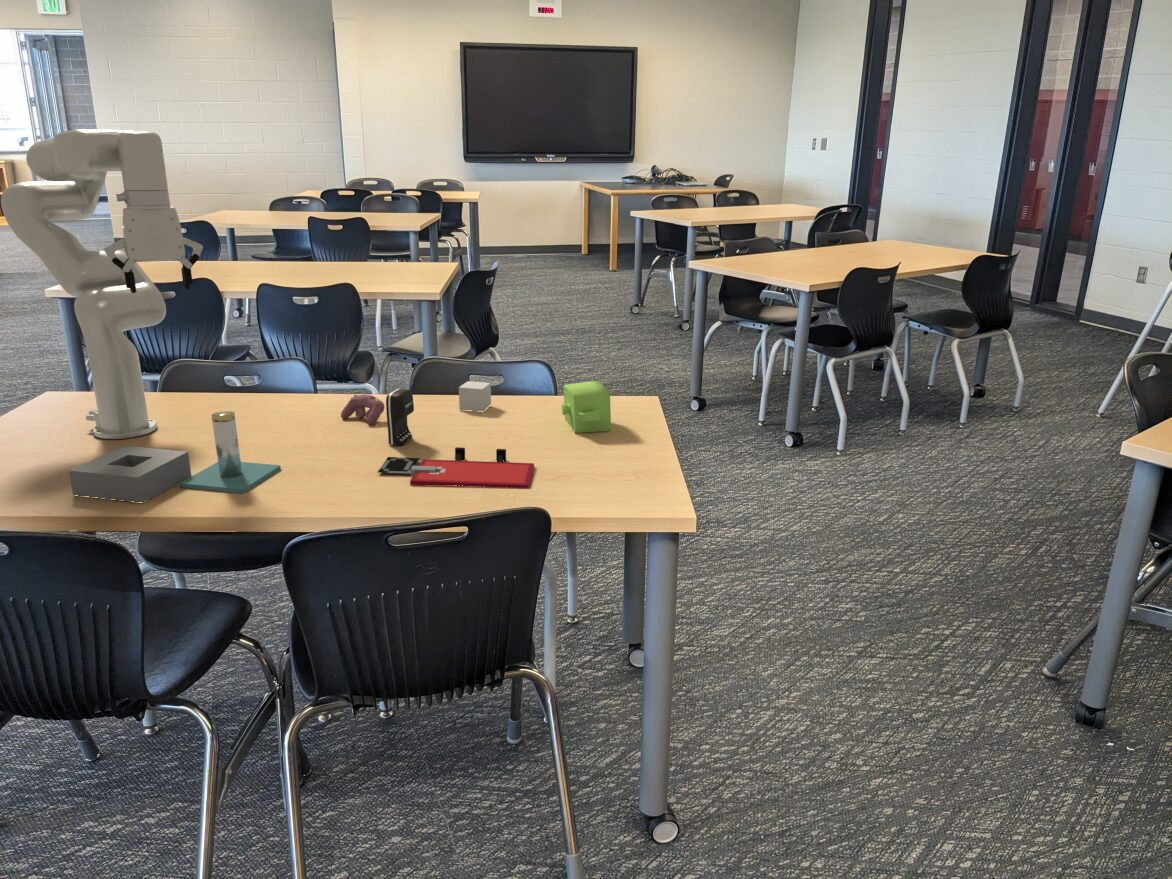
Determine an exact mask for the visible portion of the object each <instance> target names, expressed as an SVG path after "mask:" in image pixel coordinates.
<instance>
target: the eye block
mask: <svg viewBox="0 0 1172 879" xmlns="http://www.w3.org/2000/svg"><path fill="white" fill-rule="evenodd" d="M189 455H190V454H189V451H183V450H174V449H173V450H172V449H164V448H162V449H161V448H152V447H142V446H141V447H139V446H129V445H123V446H121V447H118V448H116V449H114V450H112V451H109V452H107V453H105V454H102V455H100V456H98V457H96V458H93V459H91V460H89V461H87V462H85V463H83V464H80V465H78V466H76V467H74V468H71V469H70V470H68V473H69V479H70V485H71V490H72V493H73V496H74V495H78V496H89V497H98V498H105V499H115V500H123V501H134V502H144V501H146V500H148V499H150V498H151V499H153V498H155V497H157V496H158V494H159V493H160V494H162V493H163V491H164V492H166V491H167V490H170V488H172V486H173V487H174V485H175V486H176V485H178V484H180V483H181V482H182V481H183V480H186V479H188V478H190V477H191V476H192V469H191V464H190V456H189ZM165 490H166V491H165ZM161 492H162V493H161ZM160 494H159V495H160ZM156 495H157V496H156ZM154 496H155V497H154ZM152 497H153V498H152ZM151 499H150V500H151ZM148 501H149V500H148ZM146 502H147V501H146ZM144 503H145V502H144Z"/></svg>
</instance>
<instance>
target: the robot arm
mask: <svg viewBox="0 0 1172 879" xmlns="http://www.w3.org/2000/svg"><path fill="white" fill-rule="evenodd" d="M162 142H163V141H162V139H161V137H160V135H159V134H158V133H157V132H153V131H147V130H146V131H141V130H136V131H135V130H129V129H128V130H127V129H123V130H122V129H96V128H95V129H94V128H93V129H87V128H85V129H84V128H82V129H73V130H67V131H66V130H65V131H61V132H58V133H56V134H55V136H54V137H52V138H51V137H50V138H45V139H43V140H39V141H36V142H35V143H33V144H32V145H31V146H30V147H29V149H28V151H27V152H26V158H25V159H26V164H27V166H28V168H29V169H30V171H31V172H32V173H33V174H34V175H35V176H37V177H38V178H40V179H43V180H35V181H33V180H32V181H31V180H30V181H22V182H17V183H14V184H11V185H9V186H7V187H5V189H4V190H3V191H2V193H1V197H0V206H1V209H2V212H3V215H4V218H5V220H6V223H7V224H8V226H9V227H10V229H11V231H13V232H12V233H14V234H15V236H16V237H17V238H18V239H19V240H20V241H21V242H22V243H23V244H24V245H25V246H26V247H27V248H28V249H30V250H31V251H32V252H33V253H34V254H35V255H36V256H37V257H38V258H39V259H40V260H41V261H42V263H43V264H44V266H45V267H46V269H47V270H48V271H49V273H50V274H51V275H52V276H53V278H54V279H55V280H56V282H57V283H58V284H59V285H60V287H61V288H62V289H63V290H64V292H66V293H67V294H68V295H70V296H72V297H75V298H76V299H75V301H74V305H73V306H74V308H73V309H74V313H75V317H76V319H77V323H78V325H79V328H80V329H81V332H82V335H83V339H84V344H85V347H86V351H87V356H88V362H89V363H88V364H89V367H90V368H89V369H90V373H91V380H92V385H93V391H94V397H95V398H94V399H95V403H96V408H97V409H90V410H89V412H88V414H86V416H85V420H86V421H88V422H95V426H94V428H92V433H93V435H94V437H96V438H99V439H105V440H121V439H123V440H124V439H130V438H137V437H140V436H141V437H142V436H144V435H148V434H149V433H153V432H154V431H156V430H157V428H158V423H157V421H156V420H154V419H153V418H152V419H151V418H149V414H148V409H147V408H148V407H147V402H146V401H147V400H146V394H145V388H144V382H143V376H142V370H141V369H142V368H141V363H140V362H141V361H140V356H139V352H138V350H137V347H136V346H135V344H134V343H133V342H132V341H131V340H130V339H129V338H128V337H127V336H126V335H125V334H124V332H127V331H129V330H130V331H131V330H136V329H142V328H148V327H153V326H157V325H158V324H160V323H162V322H163V320H164V319H165V318H166V315H167V307H166V306H167V304H166V302H165V300H164V297H163V295H162V294H161V292H160V290H159V289H158V288H157V286H156V285H155V283H154V282H153V281H152V279H150V277H149V276H148V275H147V274H146V272H145V270H144V269H142V267H141V266H140V265H139V263H143V262H144V263H145V262H146V263H149V262H169V261H177V262H179V263H180V264H181V265H182V266H181V268H180V269H181V277H182V285H183V288H184V289H186V290H191V285H193V276H192V270H191V269H192V268H193V266H194V265H195V264H196V263H197V262H198V261H199V259H200V256H201V254H202V251H203V249H204V246H203V244H201V243H199V242H196V241H193V240H192V239H189V238H187V237H184V236H183V232H182V227H181V223H180V218H179V215H178V212H177V209H176V207H174V206H171V202H170V194H169V186H168V181H167V180H168V178H167V173H166V166H165V165H166V164H165V156H164V150H163V149H164V148H163V143H162ZM108 172H121V176H122V184H123V192H121V193H116V201H117V202H121V203H125V207H122V235H123V238H121V239H119V240H118V241H115V242H114V243H112V244H110V245H108V246H107V247H105V248H104V250H103V249H102V250H88V249H87V248H85V247H84V246H83V244H81V242H80V240H78V238H77V237H76V236H75V235H74V234H72V233H71V232H69V231H68V230H66V229H65V228H63V227H61V226H59V225H57V224H55V223H53V222H60V221H61V222H63V221H64V222H65V221H78V220H79V221H81V220H85V219H88V218H90V217H91V216H92V215H93V214H94V213H95V211H96V209H97V206H98V202H99V199H100V197H101V195H102V194H101V193H102V190H103V188H104V184H105V181H106V178H107V173H108ZM185 245H186V246H188V247H190V248H192V253H191V255H190V256H189V257H187V258H186V257H185V256H186V249H185ZM123 248H124V251H122V250H121V249H123Z"/></svg>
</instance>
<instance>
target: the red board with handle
mask: <svg viewBox="0 0 1172 879" xmlns="http://www.w3.org/2000/svg"><path fill="white" fill-rule="evenodd" d="M495 450H496V452H495V453H496V456H495V457H496V458H495V459H496V460H497V462H496V460H495V461H479V460H477V461H476V460H466V447H455V448H454V456H455V457H454V460H453V459H450V460H449V459H448V460H447V459H428V458H427V459H425V458H424V459H421V458H420V457H405V456H402V457H401V456H388V457H386V459H385V460H384V462H383V464H382V465H380V468H379V469H378V471H377V473H385V474H388V473H389V474H409V475H410V477H411V479H410V480H409V485H410V486H425V485H457V486H456V487H465V486H478V487H479V486H481V487H479V488H505V487H507V488H511V489H513V488H515V489H529V488H530V485H531V481H532V477H533V474H532V473H534V470H535V463H532V462H509V461H508V462H503V460H504V461H507V449H506V448H497V449H495ZM420 459H421V461H420V463H419V464H418V462H419V460H420ZM464 459H465V461H461V460H464ZM417 464H418V465H417ZM533 469H534V470H533ZM459 485H460V486H459ZM462 485H463V486H462ZM483 486H485V487H483ZM478 487H477V488H478Z"/></svg>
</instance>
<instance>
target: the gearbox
mask: <svg viewBox="0 0 1172 879" xmlns="http://www.w3.org/2000/svg"><path fill="white" fill-rule="evenodd" d="M563 402H564V403H562V404H561V412H562V415H563V416H564V420H566V421H567V422H568V424H569V425H570V426H571V427H572V429H573V430H574V431H575V432H576V433H575V432H574V431H573V430H572V429H571V430H572V431H573V432H574V433H575V434H578V433H577V432H588V433H598V431H599V432H605V431H611V430H612V422H611V421H612V417H611V416H612V415H611V392H610V391H609V390H608V388H606V386H604V385H603V384H602V383H601V382H600V381H598V380H596V381H595V380H593V381H592V380H591V381H583V382H577V383H576V382H575V383H569V384H563ZM566 421H565V422H566ZM568 424H567V425H568ZM569 425H568V426H569ZM570 426H569V427H570Z"/></svg>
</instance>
